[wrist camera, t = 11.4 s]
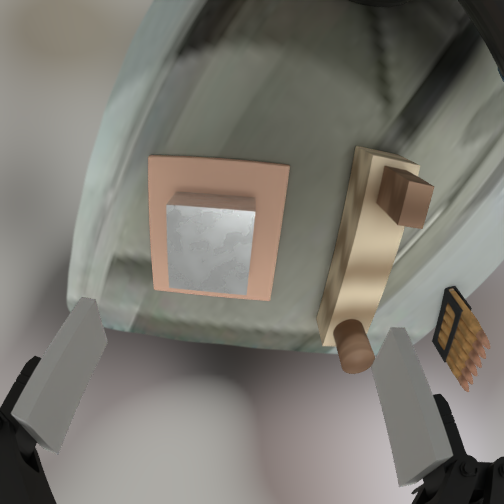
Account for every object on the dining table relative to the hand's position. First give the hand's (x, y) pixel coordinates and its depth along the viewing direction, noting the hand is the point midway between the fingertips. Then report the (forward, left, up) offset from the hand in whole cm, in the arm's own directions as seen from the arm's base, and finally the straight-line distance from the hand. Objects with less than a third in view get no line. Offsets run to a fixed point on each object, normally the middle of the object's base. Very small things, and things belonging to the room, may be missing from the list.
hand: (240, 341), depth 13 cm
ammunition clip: (+15, +31, -21) cm, 40 cm away
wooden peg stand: (+5, +13, -21) cm, 25 cm away
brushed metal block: (+5, -3, -20) cm, 21 cm away
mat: (+5, -3, -21) cm, 22 cm away
